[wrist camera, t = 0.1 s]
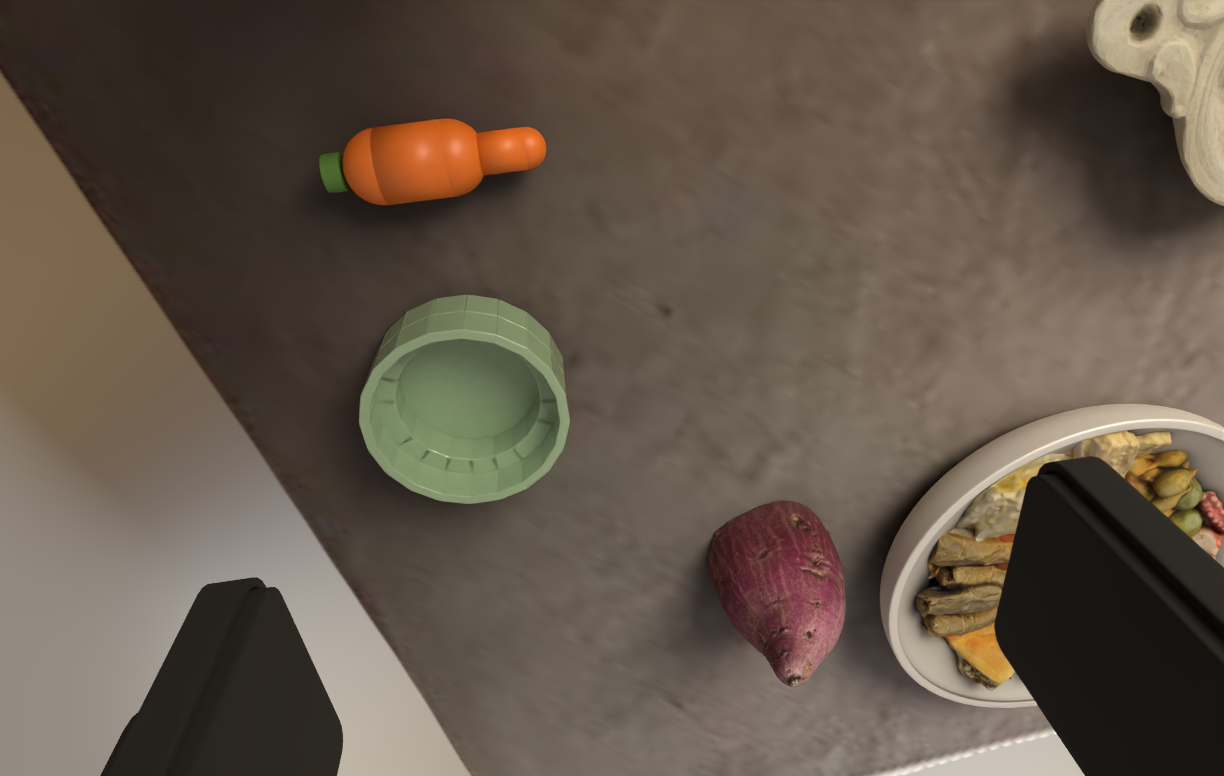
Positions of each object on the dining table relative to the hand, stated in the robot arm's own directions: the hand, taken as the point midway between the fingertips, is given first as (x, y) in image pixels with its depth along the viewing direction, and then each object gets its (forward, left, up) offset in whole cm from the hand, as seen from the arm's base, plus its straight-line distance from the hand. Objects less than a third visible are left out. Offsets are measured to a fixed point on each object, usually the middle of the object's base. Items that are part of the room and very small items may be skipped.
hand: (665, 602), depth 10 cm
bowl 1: (+17, -8, -37) cm, 41 cm away
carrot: (+2, -7, -37) cm, 37 cm away
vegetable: (+36, +12, -37) cm, 53 cm away
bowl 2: (+39, +35, -37) cm, 64 cm away
